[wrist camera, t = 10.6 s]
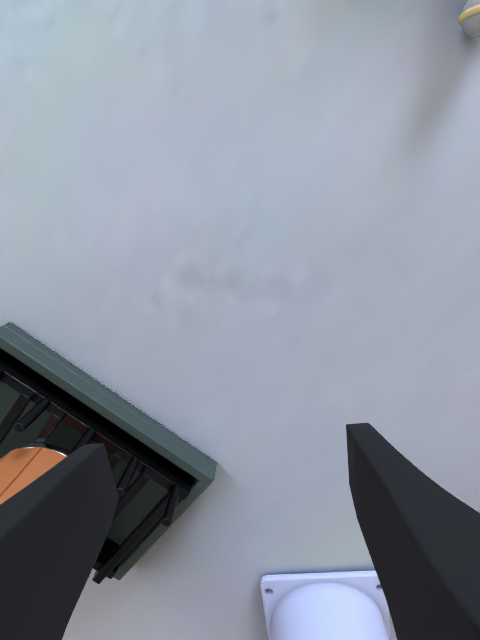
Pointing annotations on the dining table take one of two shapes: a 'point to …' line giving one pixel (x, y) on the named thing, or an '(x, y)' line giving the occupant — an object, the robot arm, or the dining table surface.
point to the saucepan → (26, 466)
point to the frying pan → (471, 18)
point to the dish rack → (94, 428)
